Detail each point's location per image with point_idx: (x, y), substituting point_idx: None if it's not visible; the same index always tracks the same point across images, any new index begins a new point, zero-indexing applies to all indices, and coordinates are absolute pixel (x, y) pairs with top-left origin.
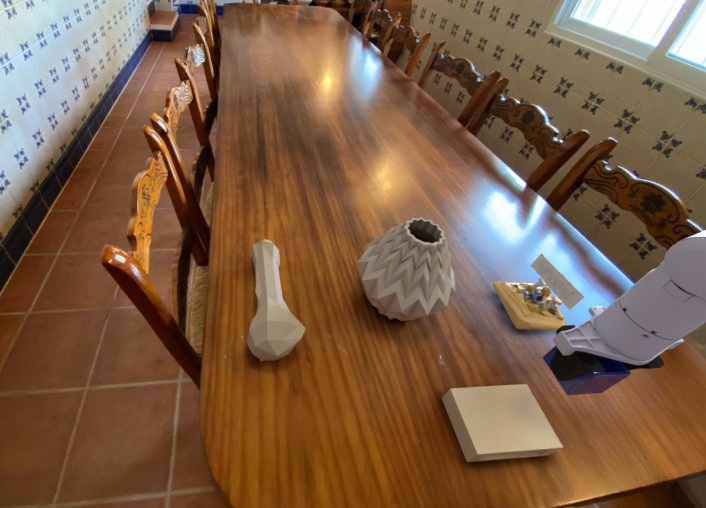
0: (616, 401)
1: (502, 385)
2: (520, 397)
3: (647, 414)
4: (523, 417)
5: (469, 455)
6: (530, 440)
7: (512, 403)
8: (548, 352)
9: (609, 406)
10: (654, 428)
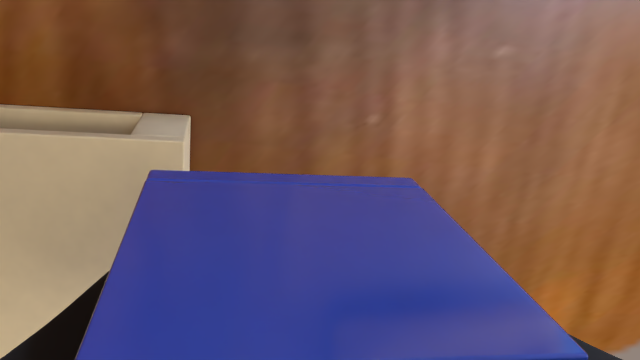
0: (578, 183)
1: (39, 135)
2: (109, 195)
3: (636, 229)
4: (72, 271)
5: None
6: None
7: (49, 216)
8: (138, 202)
9: (536, 196)
10: (613, 266)
